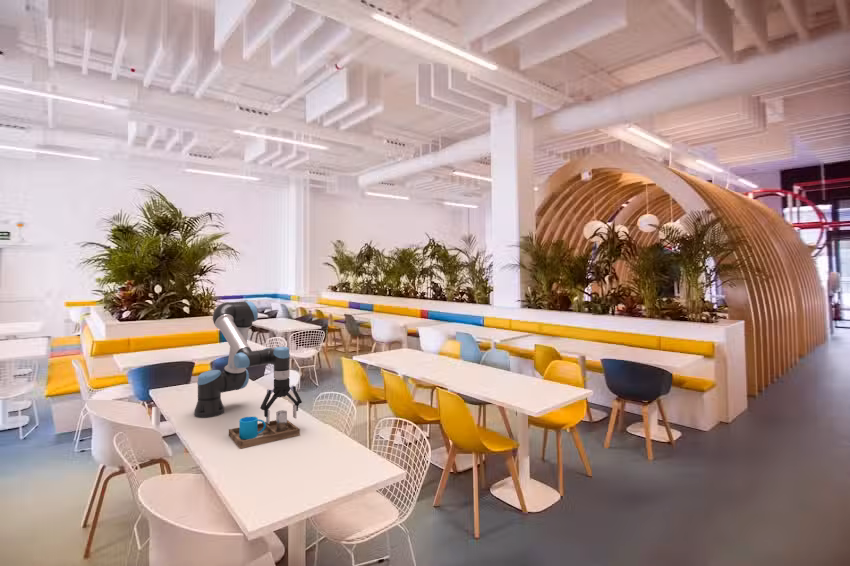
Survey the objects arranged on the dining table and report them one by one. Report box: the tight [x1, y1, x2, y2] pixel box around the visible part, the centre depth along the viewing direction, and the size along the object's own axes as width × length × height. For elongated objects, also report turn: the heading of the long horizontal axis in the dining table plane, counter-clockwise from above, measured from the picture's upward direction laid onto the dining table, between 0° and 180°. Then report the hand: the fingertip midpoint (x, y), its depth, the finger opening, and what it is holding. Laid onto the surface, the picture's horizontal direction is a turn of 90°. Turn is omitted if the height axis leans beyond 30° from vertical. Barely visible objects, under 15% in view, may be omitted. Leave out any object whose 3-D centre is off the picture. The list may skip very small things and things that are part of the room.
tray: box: [228, 419, 301, 450], centre depth 215 cm, size 20×28×3 cm
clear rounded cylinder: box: [275, 409, 288, 432], centre depth 220 cm, size 5×5×9 cm
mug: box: [238, 416, 266, 439], centre depth 212 cm, size 12×8×8 cm
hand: (281, 420), depth 220 cm, fingers open, 13 cm apart
